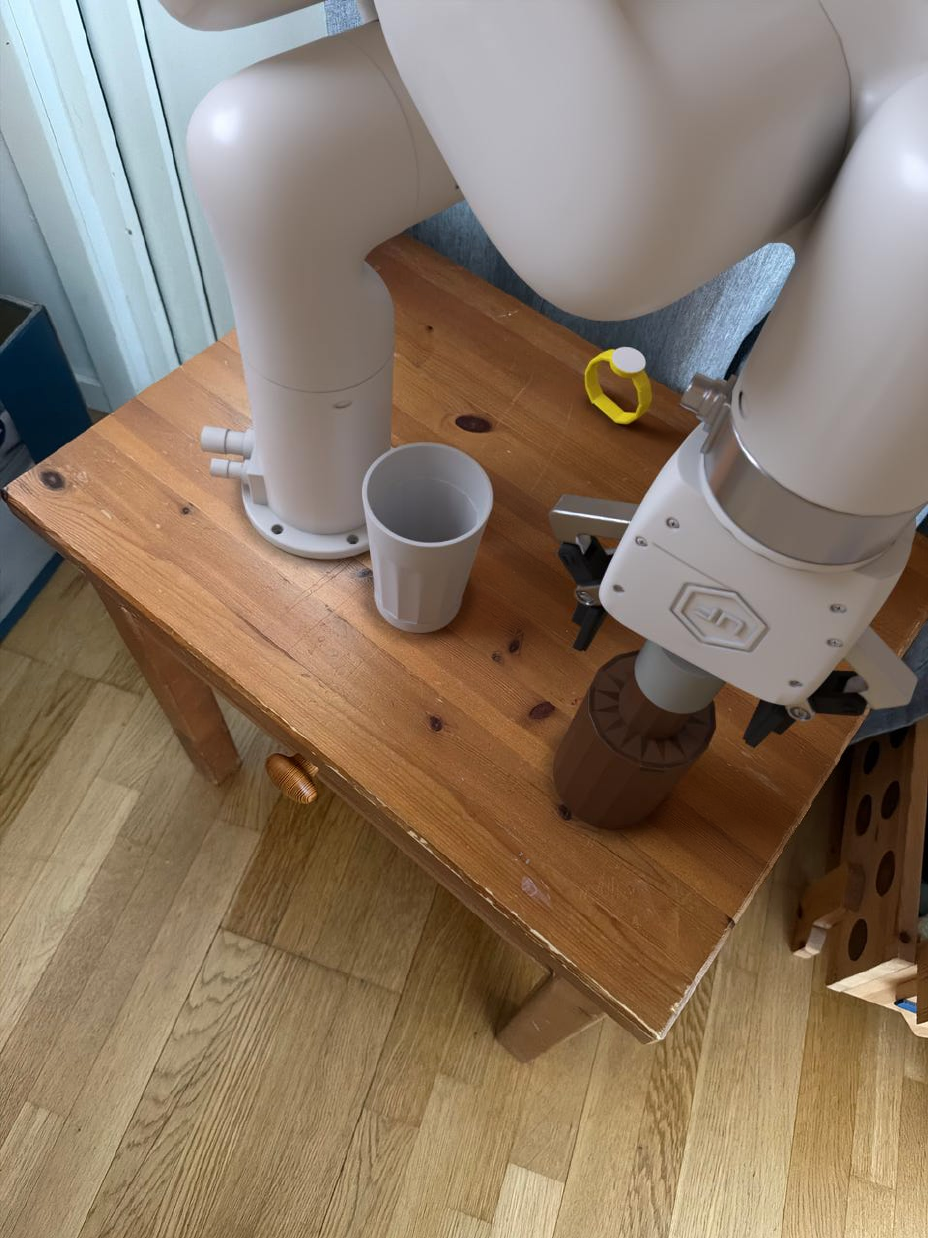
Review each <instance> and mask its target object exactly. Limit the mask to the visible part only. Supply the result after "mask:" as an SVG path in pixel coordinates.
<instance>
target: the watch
mask: <svg viewBox="0 0 928 1238" xmlns="http://www.w3.org/2000/svg"><path fill="white" fill-rule="evenodd" d="M602 361H604V362H609V367H610V369H611V370H612V372H613V373H614V374H615V375H617V376H619V377H621V378H622V379H623V378H624V379H628V380H631V381H632V383H633V385H634V387H635V388H636V389H635V390H636V392H637V399H638V406H637V408H636V412H625V411H624V410H623V409H622V408H621V407H619V406H618V404H616V403H615V402H614V401H613V400H612V399H610V398H609V397H608V396H607V395H606V394H604V391H603V389H602V387H601V384H600V382H599V373H598V372H599V369H598V367H600V364H601V362H602ZM646 363H647V362H646V358H645V356H644V355H643V353H641V351H639V350H637V349H636V348H633V347H631V346H621V347H617V348H616V349H607V350H606V351H603V352H601V353H599V354H598V355H596V356H595V357H593V358H592V359H591V360H590V361H589V362H588V364H587V366H586V368H585V371H584V387H585V391H586V393H587V395H588V398H589V400H590V403H591V404H593V405H595V406H596V407H597V408H598V409H599V410H600V411H601V412H603V413H604V414H605V415H606V416H607V417H608V418H610V419H611V421H613V422H614V423H615V424H621V425H629V424H631V423H633V422H634V421H636V420H638V419H639V418H641V417H642V416H643V415H644V414H646V413H647V412H648V411H649V408H650V406H651V403H652V401H653V394H652V384H651V381H650V379H649V377H648V375H647V373H646V370H645V368H646V365H647V364H646Z"/></svg>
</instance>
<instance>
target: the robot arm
mask: <svg viewBox="0 0 928 1238" xmlns="http://www.w3.org/2000/svg"><path fill="white" fill-rule="evenodd" d="M327 1H328V0H157V2H158V3H159V4H160V5H161V7H163V9H164V10H165V11H166V12H167V14H168V15H170V17H171V18H173V19H174V20H176V21H177V22H178V23H180V24H182V25H183V26H185V27H186V28H189V29H190V30H196V31H199V32H225V31H230V30H236V29H241V28H246V27H250V26H253V25H257V24H260V23H265V22H268V21H270V20H274V19H276V18H281V17H283V16H286V15H289V14H292V13H295V12H298V11H301V10H303V9H307V8H309V7H313V6H315V5H317V4H321V3H324V2H327ZM354 2H355V4H356V7H357V10H358V12H359V15H360V18H361V21H362V23H363V24H360V25H357V26H355V27H352V28H350V29H347V30H343V31H340V32H338V33H336V34H334V35H327V36H323V37H320V38H318V39H315V40H312V41H310V42H308V43H305V44H302V45H299V46H297V47H294V48H291V49H288V50H286V51H283V52H282V51H281V52H280V53H277V54H275V55H272V56H269V57H267V58H264V59H262V60H259V61H256V62H255V63H253V64H249V65H248V66H246V67H243V68H241V69H240V70H238V71H236V72H234V73H233V74H231V75H229V76H228V77H226V78H224V79H223V80H222V81H220V82H219V83H218V84H216V85H215V86H214V87H213V88H212V89H211V90H210V91H208V93H206V94H205V96H204V97H203V98H202V99H201V100H200V102H199V103H198V104H197V106H196V108H195V109H194V112H193V113H192V115H191V117H190V120H189V123H188V125H187V131H186V139H185V153H186V161H187V165H188V171H189V177H190V179H191V181H192V185H193V188H194V191H195V194H196V198H197V199H198V203H199V205H200V207H201V210H202V213H203V215H204V218H205V221H206V224H207V225H208V229H209V231H210V233H211V236H212V239H213V243H214V245H215V247H216V250H217V253H218V256H219V261H220V262H221V266H222V270H223V273H224V277H225V281H226V285H227V288H228V294H229V298H230V303H231V309H232V313H233V319H234V326H235V330H236V331H235V332H236V338H237V342H238V347H239V351H240V357H241V363H242V369H243V376H244V382H245V387H246V388H245V389H246V393H247V399H248V400H247V401H248V406H249V414H250V418H251V425H252V427H247V429H246V430H245V432H244V431H237V430H230V428H226V427H220V426H211V425H204V426H203V428H202V430H201V435H200V448H201V451H202V452H204V453H210V454H211V453H212V454H219V455H225V456H226V455H233V456H234V455H235V456H241V457H243V459H244V461H243V462H241V461H234V460H232V459H225V458H218V457H212V459H211V460H210V465H209V473H210V476H211V477H212V478H219V479H228V480H229V479H234V480H241V487H240V488H241V496H242V502H243V506H244V511H245V513H246V516H247V517H248V519H249V521H250V524H251V525H252V526H253V528H254V529H255V530H256V531H257V532H258V533H259V534H260V536H262V538H263V539H265V540H266V541H268V542H269V543H270V544H272V545H273V546H274V547H276V548H278V549H280V550H283V551H284V552H286V553H288V554H291V555H295V556H298V557H302V558H305V559H306V558H307V559H313V560H314V559H316V560H339V559H345V558H349V557H354V556H357V555H360V554H362V553H365V552H368V551H370V546H369V538H368V530H367V524H366V517H365V510H364V504H363V497H362V487H363V482H364V479H365V476H366V474H367V472H368V470H369V468H370V467H371V466H372V464H373V463H374V462H375V461H376V460H377V459H378V458H379V457H380V456H382V455H383V454H385V453H386V452H388V451H390V450H392V449H394V448H395V447H394V446H392V422H393V421H392V420H393V394H394V393H393V392H394V391H393V390H394V366H395V365H394V362H395V334H396V333H395V332H396V331H395V330H396V317H395V316H396V315H395V308H394V302H393V299H392V295H391V293H390V291H389V289H388V286H387V285H386V283H385V282H384V280H383V279H382V277H381V276H380V274H379V273H378V272H377V271H376V270H375V269H374V268H373V267H372V266H371V265H370V264H369V263H368V262H367V261H366V260H365V259H366V258H367V256H368V255H369V254H370V253H371V252H372V251H373V249H375V248H377V247H378V246H379V245H381V244H383V243H384V242H387V241H388V240H390V239H392V238H394V237H396V236H398V235H400V234H402V233H403V232H404V231H406V230H407V229H409V228H412V227H413V226H415V225H417V224H420V223H421V222H423V221H425V220H427V219H430V218H431V217H434V216H435V215H437V214H440V213H441V212H443V211H445V210H448V209H450V208H452V207H453V206H455V205H457V204H459V203H461V202H463V201H466V202H467V203H468V206H469V208H470V210H471V211H472V213H473V215H474V216H475V218H476V220H477V221H478V222H479V224H480V225H481V227H482V229H483V231H484V232H485V234H486V235H487V237H488V238H489V240H490V241H491V243H492V244H493V245H494V246H495V249H497V252H499V253H500V255H501V257H502V258H503V259H504V260H505V262H506V263H507V264H508V266H509V267H510V268H511V269H512V271H514V272H515V274H516V275H517V276H518V277H519V278H520V279H521V280H522V281H523V282H524V283H525V284H526V285H527V286H528V287H529V288H530V289H531V290H532V291H534V293H536V294H537V295H538V296H539V297H540V298H542V299H543V300H545V301H547V302H548V303H550V304H551V305H552V306H554V307H556V308H558V309H559V310H561V311H563V312H565V313H567V314H570V315H573V316H576V317H578V318H582V319H587V320H590V321H598V322H620V321H626V320H627V321H628V320H634V319H637V318H639V317H643V316H646V315H649V314H652V313H655V312H659V311H660V310H663V309H664V308H666V307H668V306H670V305H672V304H674V303H676V302H678V301H679V300H681V299H683V298H685V297H686V296H688V295H689V294H692V293H693V292H695V291H696V290H697V289H699V288H701V287H702V286H704V285H706V284H707V283H709V282H710V281H711V280H713V279H715V278H716V277H718V276H720V275H722V274H723V273H725V272H726V271H728V270H729V269H731V268H732V267H734V266H736V265H737V264H739V263H740V262H743V260H746V258H748V257H750V256H751V255H752V254H754V253H756V252H757V251H759V250H761V249H762V248H764V247H765V246H767V245H768V244H785V245H787V246H788V247H790V249H792V251H793V254H794V263H793V265H792V267H791V269H790V271H789V273H788V275H787V277H786V279H785V281H784V282H783V286H782V287H781V289H780V292H779V293H778V295H777V298H776V299H775V301H774V303H773V306H772V308H771V309H770V311H769V313H768V316H767V317H766V319H765V322H764V324H763V326H762V328H761V330H760V331H759V334H758V336H757V337H756V341H755V343H754V344H753V347H752V348H751V350H750V353H748V356H747V359H746V361H745V363H744V365H743V366H742V369H741V370H740V373H739V375H738V376H737V375H735V374H733V373H732V374H731V375H729V376H730V377H729V378H728V379H727V380H725V379H723V378H721V377H719V376H717V377H716V378H715V379H714V378H711V377H709V376H707V375H705V374H703V373H701V372H698V371H696V372H695V373H694V374H693V375H692V377H691V380H690V381H689V383H688V385H687V386H686V389H685V390H684V391H683V392H684V393H683V395H682V396H681V399H680V401H679V404H678V407H681V408H683V409H684V410H687V411H689V412H690V413H694V414H695V419H697V420H699V421H700V423H699V424H698V425H697V426H696V427H695V428H694V430H692V432H691V433H690V434H688V436H687V437H686V439H684V441H683V442H682V443H681V445H680V446H679V447H678V448H677V449H676V451H675V452H674V453H673V454H672V456H670V457H669V459H668V460H667V462H666V463H665V464H664V466H663V467H662V468H661V469H660V471H659V473H658V474H657V476H656V478H655V479H654V480H653V482H652V484H651V486H650V487H649V489H648V490H647V491H646V493H645V495H644V497H643V498H642V501H641V502H640V504H639V503H633V502H625V501H619V500H611V499H604V498H598V497H597V498H596V497H590V496H583V495H576V494H568V493H563V494H561V495H560V496H559V497H558V499H557V500H556V502H555V504H554V505H553V506H552V507H551V509H550V511H549V512H548V514H547V519H548V522H549V524H550V525H549V526H550V527H551V530H552V533H553V536H554V541H555V542H557V543H558V546H559V548H558V549H557V551H556V554H557V557H558V559H559V560H560V562H561V563H562V565H563V566H564V568H565V570H566V571H567V573H568V574H569V575H570V577H571V578H572V579H573V581H574V582H575V584H576V587H575V589H574V590H573V596H574V598H575V600H577V603H576V606H575V609H574V612H573V614H572V617H571V619H570V621H571V622H572V623H574V624H575V625H577V626H580V627H579V631H578V633H577V635H576V637H575V639H574V642H573V645H572V646H571V648H572V649H574V650H576V651H577V652H580V653H582V652H584V653H586V652H587V651H588V649H589V647H590V646H591V644H592V642H593V641H594V639H595V637H596V635H597V633H598V632H599V630H600V628H601V627H602V625H603V623H604V621H605V620H606V618H607V617H608V615H610V616H611V617H612V618H613V619H615V620H616V621H617V622H619V623H620V624H621V625H622V626H624V627H626V628H627V629H629V630H631V631H632V632H635V633H636V634H638V635H639V636H641V637H643V638H645V639H646V640H647V639H648V640H650V641H652V642H654V643H656V644H658V645H659V646H661V647H663V648H665V649H667V650H668V651H670V652H672V653H674V654H676V655H677V656H679V657H681V658H683V659H685V660H687V661H688V662H690V663H692V664H694V665H696V666H698V667H700V668H701V669H703V670H705V671H707V672H709V673H711V674H713V675H715V676H716V677H718V678H720V679H722V680H724V681H726V682H727V683H728V684H730V685H731V686H734V687H735V688H737V689H738V690H739V689H740V691H741V690H742V691H743V692H745V693H747V694H749V695H751V696H753V697H755V698H758V699H759V701H758V703H757V705H756V707H755V710H754V712H753V714H752V716H751V719H750V720H749V722H748V725H747V727H746V730H745V731H744V734H743V736H742V740H744V744H745V745H747V746H748V747H751V748H753V749H756V748H757V747H758V746H759V745H761V743H762V742H763V741H764V740H765V739H766V738H767V737H768V736H769V735H770V734H772V733H775V734H776V735H778V736H782V735H783V734H784V733H785V732H786V731H787V730H788V729H790V728H791V727H792V726H793V725H794V724H795V723H796V722H797V721H798V722H802V723H810V722H812V721H813V720H814V718H815V715H816V714H819V715H820V714H821V715H833V716H846V717H860V716H863V714H865V712H866V710H869V709H873V710H874V711H877V710H885V709H891V708H898V707H905V706H907V705H909V704H910V703H911V700H912V698H913V694H914V693H915V692H914V691H915V689H916V686H917V683H918V676H917V674H915V673H914V671H912V669H911V668H910V667H909V666H908V665H907V664H906V663H905V662H904V661H903V660H902V659H901V657H899V656H898V654H897V653H896V652H895V651H894V650H893V649H892V648H891V647H890V646H889V645H888V644H887V643H886V641H884V640H883V639H882V637H881V636H880V635H879V634H878V633H877V632H876V631H875V630H874V629H873V627H872V626H870V624H871V623H872V621H873V620H874V618H875V617H876V616H877V614H878V613H879V612H880V610H881V608H882V607H883V606H884V604H885V602H886V601H887V600H888V598H889V596H890V595H891V594H892V592H893V590H894V589H895V587H896V585H897V584H898V581H899V579H900V578H901V576H902V574H903V572H904V570H905V568H906V566H907V563H908V561H909V559H910V556H911V553H912V547H913V543H914V539H915V535H916V531H917V530H916V529H917V517H918V516H919V515H920V514H921V513H922V511H924V509H925V508H926V507H927V506H928V0H354ZM598 538H602V539H607V540H608V539H609V540H614V541H620V542H619V544H618V545H617V546H616V547H610V548H605V549H604V547H603V546H602V544H601V543H600V540H598ZM842 660H843V661H844V662H845V663H846V664H847V665H848V666H849V667H850V668H851V669H852V670H839V669H837V670H835V669H836V667H838V665H839V664H840V663H841V662H842Z"/></svg>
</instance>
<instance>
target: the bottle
mask: <svg viewBox="0 0 928 1238" xmlns="http://www.w3.org/2000/svg"><path fill="white" fill-rule="evenodd" d="M640 650H641V649H635V650H631V651H626V652H622V653H618V654H615V655H614V656H613V657H612V658H610V659H609V660H608V661H606V662H605V663H604V664H602V665H601V666H599V668H598V669H597V671H596V673H595V675H594V676H593V678H592V680H591V682H590V684H589V686H588V688H587V690H586V691H585V694H584V696H583V698H582V700H581V703H580V705H579V706H578V708H577V710H576V712H575V714H574V716H573V719H572V720H571V723H570V725H569V727H568V729H567V730H566V732H565V734H564V736H563V739H562V740H561V743H560V745H559V747H558V749H557V751H556V753H555V754H554V759H553V765H552V776H553V783H554V786H555V790H556V792H557V794H558V797H559V798H560V800H561V801H562V803H563V804H564V806H565V807H566V808H567V809H568V810H569V812H570V813H572V814H573V815H574V816H575V817H577V818H578V819H579V820H581V821H582V822H585V823H586V824H589V825H591V826H593V827H597V828H601V829H607V830H618V829H619V830H621V829H624V828H628V827H632V826H635V825H636V824H638V823H640V822H641V821H643V820H644V819H645V818H646V817H648V816H649V814H650V813H651V812H652V811H654V810H655V809H656V808H657V807H658V805H660V803H661V802H662V801H663V800H664V799H665V798H666V797H667V796H668V794H669V793H670V792H671V791H672V790H673V788H674V787H676V785H677V784H678V783H679V782H680V780H681V779H682V778H683V777H684V776H685V775H686V774H687V773H688V772H689V770H691V768H692V767H693V766H694V765H695V764H696V762H698V760H699V759H700V758H702V756H703V755H704V754H705V752H706V751H707V750H708V749H709V747H710V745H711V742H712V739H713V737H714V735H715V732H716V730H717V714H716V712H717V711H716V702H715V701H714V699H713V700H712V701H711V702H710V703H709V704H708V705H707V706H706V707H705V708H703V709H701V710H699V711H696V712H693V713H684V714H682V713H674V712H670V711H667V710H664V709H662V708H660V707H658V706H657V705H655V704H654V703H652V702H651V701H650V700H649V699H648V698H647V697H646V696H645V695H644V693H643V692H642V691H641V689H640V687H639V685H638V683H637V680H636V676H635V662H636V658H637V656H638V654H639V652H640Z"/></svg>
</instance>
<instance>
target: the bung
mask: <svg viewBox="0 0 928 1238" xmlns="http://www.w3.org/2000/svg"><path fill="white" fill-rule="evenodd" d="M639 650H640V652H639V654H638V656H637V658H636V662H635V676H636V680H637V683H638V685H639V687H640V689H641V691H642V692H643V693H644V695H645V696H646V697H647V698H648V699H649V700H650V701H651V702H652V703H654V704H655V705H657V706H658V707H660V708H662V709H664V710H667V711H670V712H674V713H682V714H684V713H693V712H696V711H699V710H701V709H703V708H705V707H706V706H707V705H708V704H709V703H710V702H711V701H712V700H713V701H714V699H715V698H716V697H717V695H719V693H720V692H721V690H722V689H723V688H724V686H725V685H726V684H727V683H728V682H726V681H724V680H722V679H720V678H718V677H716V676H715V675H713V674H711V673H709V672H707V671H705V670H703V669H701V668H700V667H698V666H696V665H694V664H692V663H690V662H688V661H687V660H685V659H683V658H681V657H679V656H677V655H676V654H674V653H672V652H670V651H668V650H667V649H665V648H663V647H661V646H659V645H658V644H656V643H654V642H652V641H650V640H648V639H647V638H646V639H645V641H644V643H643V645H642V647H641V648H640V649H639Z"/></svg>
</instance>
